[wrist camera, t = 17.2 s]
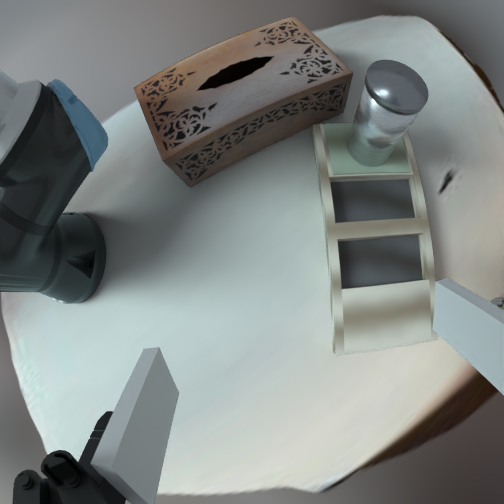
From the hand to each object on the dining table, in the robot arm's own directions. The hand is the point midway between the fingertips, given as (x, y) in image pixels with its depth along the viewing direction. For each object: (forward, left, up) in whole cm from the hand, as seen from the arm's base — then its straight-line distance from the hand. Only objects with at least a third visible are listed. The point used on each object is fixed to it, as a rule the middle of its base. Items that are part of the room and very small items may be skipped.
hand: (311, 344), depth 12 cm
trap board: (-1, +14, -25) cm, 29 cm away
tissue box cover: (-27, +11, -25) cm, 39 cm away
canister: (-11, +20, -22) cm, 31 cm away
